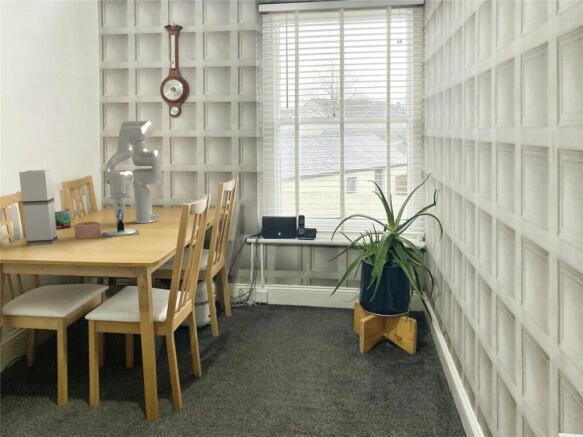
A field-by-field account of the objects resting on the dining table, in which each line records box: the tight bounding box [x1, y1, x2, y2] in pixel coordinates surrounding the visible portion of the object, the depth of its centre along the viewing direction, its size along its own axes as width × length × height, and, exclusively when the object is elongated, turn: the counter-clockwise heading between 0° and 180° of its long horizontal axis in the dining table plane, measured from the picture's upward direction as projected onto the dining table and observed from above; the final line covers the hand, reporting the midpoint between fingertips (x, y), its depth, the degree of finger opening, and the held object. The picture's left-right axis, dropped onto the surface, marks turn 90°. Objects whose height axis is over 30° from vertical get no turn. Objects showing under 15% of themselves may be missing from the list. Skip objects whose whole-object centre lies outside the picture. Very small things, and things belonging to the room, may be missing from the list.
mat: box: [102, 229, 141, 239], centre depth 275 cm, size 18×16×1 cm
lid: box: [105, 221, 137, 237], centre depth 274 cm, size 15×15×6 cm
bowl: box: [74, 221, 102, 239], centre depth 270 cm, size 12×12×7 cm
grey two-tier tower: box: [18, 169, 59, 246], centre depth 257 cm, size 11×11×35 cm
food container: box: [55, 208, 72, 230], centre depth 299 cm, size 12×6×10 cm, turn 168°
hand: (120, 228), depth 274 cm, fingers open, 9 cm apart
